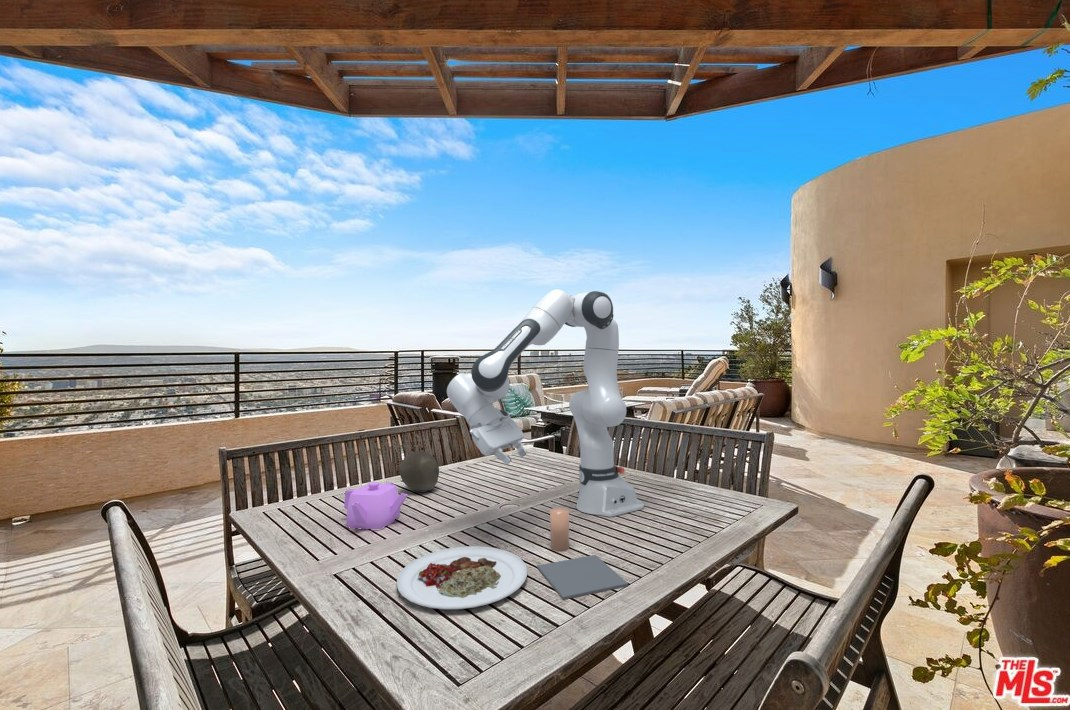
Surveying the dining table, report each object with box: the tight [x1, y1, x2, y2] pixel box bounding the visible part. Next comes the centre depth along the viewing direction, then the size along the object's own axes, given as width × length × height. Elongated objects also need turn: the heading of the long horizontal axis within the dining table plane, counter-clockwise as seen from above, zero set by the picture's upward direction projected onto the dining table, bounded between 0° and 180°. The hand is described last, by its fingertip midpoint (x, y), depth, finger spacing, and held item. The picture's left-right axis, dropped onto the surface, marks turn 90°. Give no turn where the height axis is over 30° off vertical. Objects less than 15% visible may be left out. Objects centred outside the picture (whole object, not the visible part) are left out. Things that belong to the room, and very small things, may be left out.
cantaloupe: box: [399, 451, 440, 492], centre depth 182 cm, size 14×14×15 cm
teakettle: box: [343, 481, 408, 530], centre depth 151 cm, size 17×17×12 cm
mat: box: [536, 554, 629, 601], centre depth 113 cm, size 16×16×1 cm
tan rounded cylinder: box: [549, 506, 570, 552], centre depth 130 cm, size 5×5×10 cm
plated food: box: [396, 545, 528, 610], centre depth 113 cm, size 30×30×3 cm
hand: (517, 458), depth 135 cm, fingers open, 8 cm apart
